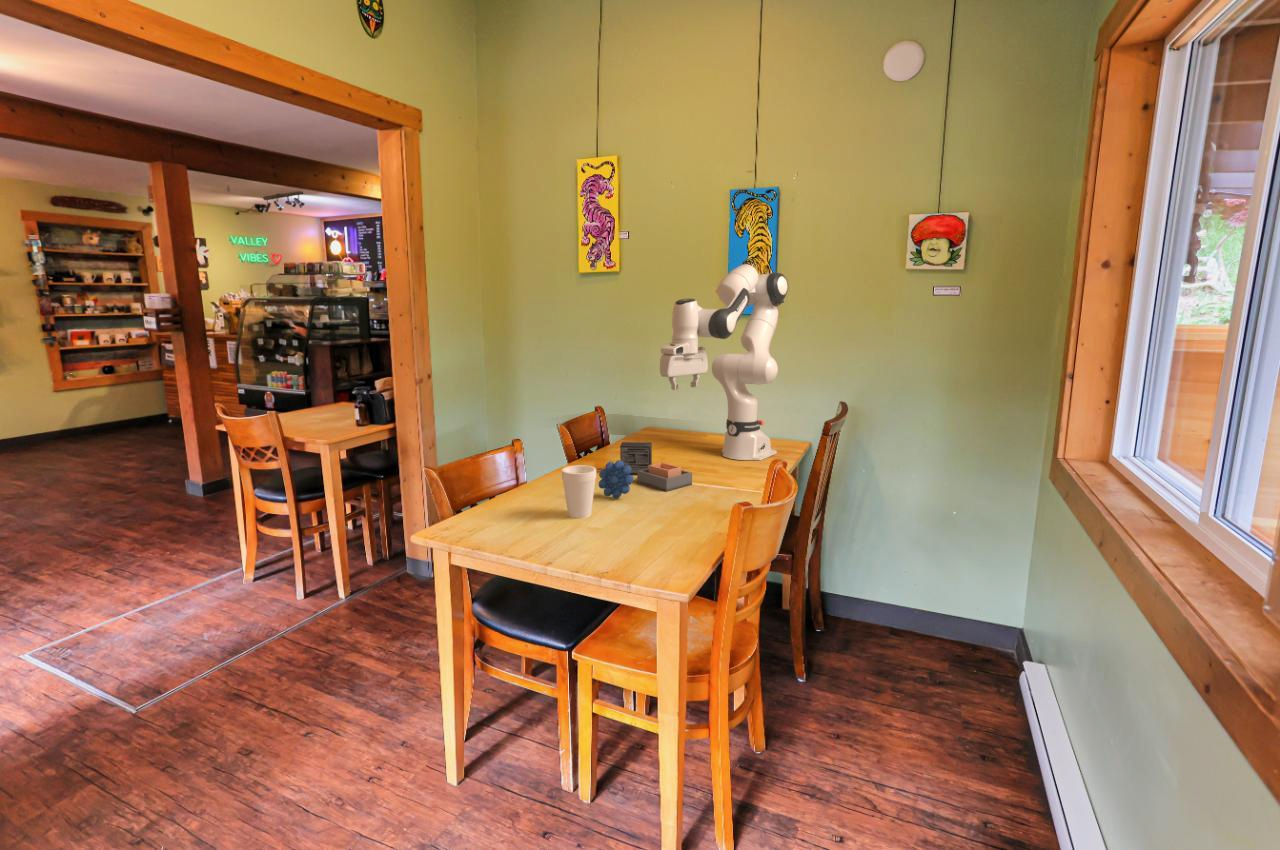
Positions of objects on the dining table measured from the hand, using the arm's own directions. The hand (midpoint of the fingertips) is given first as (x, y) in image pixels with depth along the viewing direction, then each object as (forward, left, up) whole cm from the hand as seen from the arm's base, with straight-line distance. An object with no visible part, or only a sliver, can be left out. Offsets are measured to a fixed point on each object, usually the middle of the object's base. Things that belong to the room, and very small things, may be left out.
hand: (684, 388), depth 218 cm
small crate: (+16, +7, -28) cm, 33 cm away
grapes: (+37, +8, -29) cm, 48 cm away
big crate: (+16, +7, -29) cm, 34 cm away
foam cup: (+55, +13, -29) cm, 64 cm away
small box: (+14, -9, -29) cm, 34 cm away
